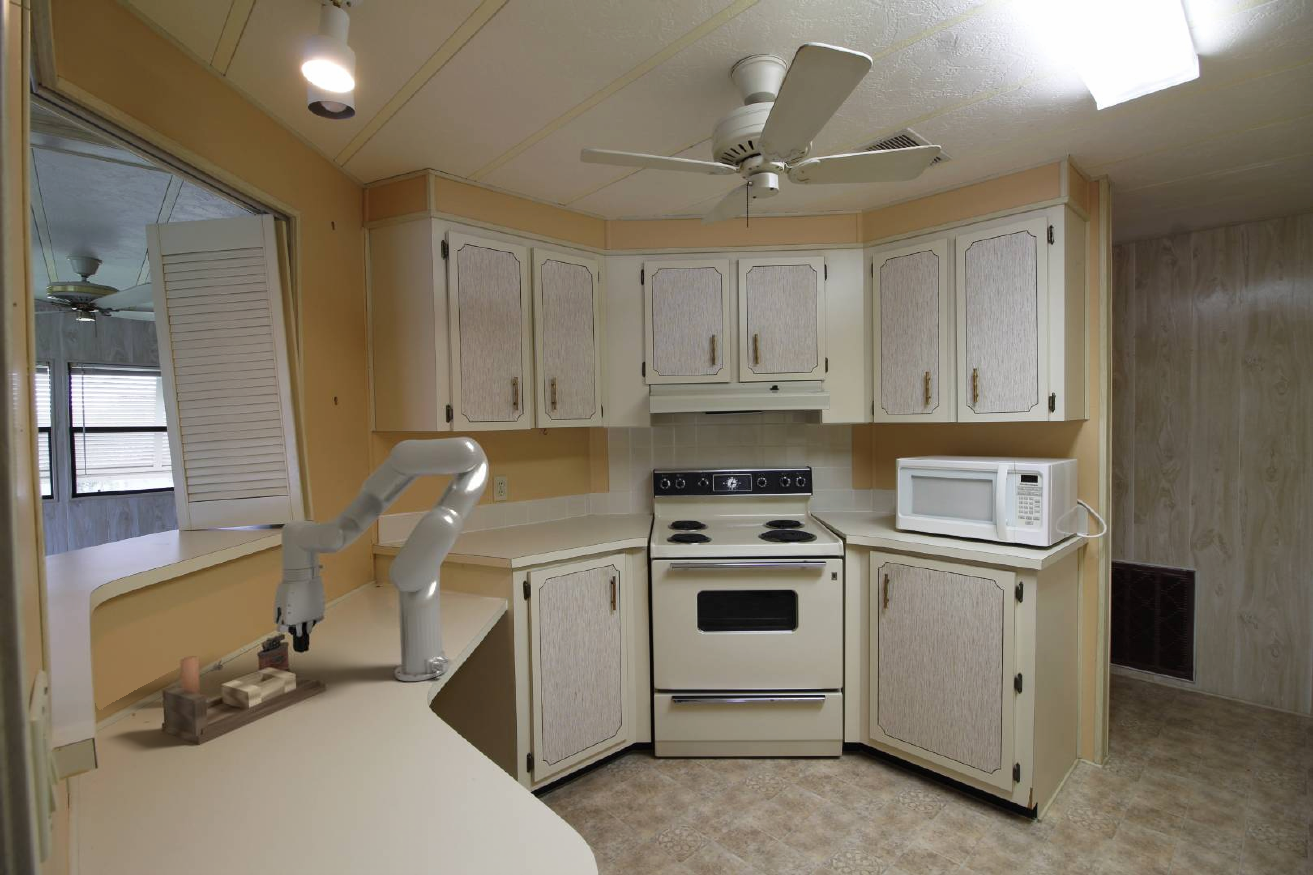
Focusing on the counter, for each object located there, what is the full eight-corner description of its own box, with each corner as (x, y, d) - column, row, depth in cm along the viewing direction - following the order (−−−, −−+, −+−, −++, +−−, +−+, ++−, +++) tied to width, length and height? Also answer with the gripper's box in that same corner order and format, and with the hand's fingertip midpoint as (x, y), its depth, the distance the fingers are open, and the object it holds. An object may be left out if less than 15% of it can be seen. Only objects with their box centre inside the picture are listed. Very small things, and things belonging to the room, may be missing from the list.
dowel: (203, 701, 136) (201, 657, 135) (187, 707, 133) (184, 662, 133) (195, 698, 137) (193, 655, 137) (179, 704, 134) (177, 660, 134)
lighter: (266, 685, 143) (264, 643, 143) (254, 684, 144) (252, 643, 144) (293, 671, 151) (291, 632, 151) (282, 670, 152) (280, 631, 151)
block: (296, 691, 135) (295, 673, 135) (249, 710, 126) (248, 691, 126) (269, 684, 140) (268, 667, 139) (222, 702, 131) (221, 684, 131)
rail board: (326, 689, 139) (324, 653, 139) (199, 744, 116) (197, 701, 116) (289, 680, 146) (287, 645, 145) (162, 730, 122) (160, 689, 122)
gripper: (320, 565, 150) (321, 638, 150) (258, 579, 137) (259, 658, 137) (340, 568, 147) (340, 643, 147) (278, 582, 133) (278, 664, 134)
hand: (301, 650), depth 142 cm, fingers closed
